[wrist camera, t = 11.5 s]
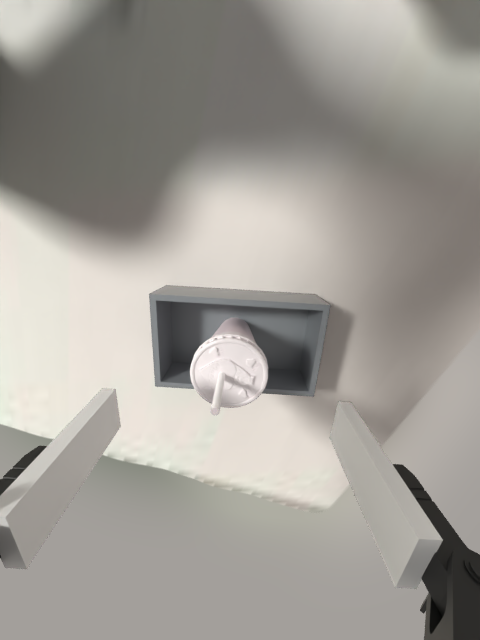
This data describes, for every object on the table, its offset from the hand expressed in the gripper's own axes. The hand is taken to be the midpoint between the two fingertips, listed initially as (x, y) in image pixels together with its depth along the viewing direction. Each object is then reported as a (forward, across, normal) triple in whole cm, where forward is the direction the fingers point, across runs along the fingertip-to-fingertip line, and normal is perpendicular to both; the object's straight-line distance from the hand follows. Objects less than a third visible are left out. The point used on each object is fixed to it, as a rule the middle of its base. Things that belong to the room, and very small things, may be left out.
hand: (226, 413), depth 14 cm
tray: (+15, 0, -1) cm, 15 cm away
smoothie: (+15, 0, -1) cm, 15 cm away
